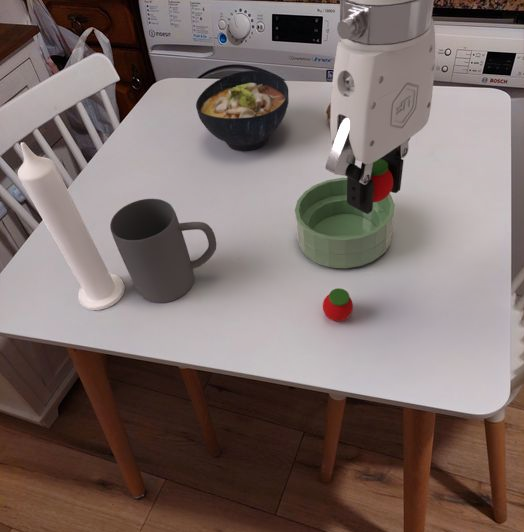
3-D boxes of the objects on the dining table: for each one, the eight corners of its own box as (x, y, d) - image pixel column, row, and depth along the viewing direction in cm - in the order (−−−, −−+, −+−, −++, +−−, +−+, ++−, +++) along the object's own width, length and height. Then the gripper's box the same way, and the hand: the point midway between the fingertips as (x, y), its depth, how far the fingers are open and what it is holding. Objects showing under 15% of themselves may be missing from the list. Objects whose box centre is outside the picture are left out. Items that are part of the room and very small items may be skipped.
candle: (76, 287, 80) (-11, 138, 60) (119, 271, 81) (47, 119, 61) (84, 317, 76) (-7, 168, 56) (129, 299, 77) (56, 147, 57)
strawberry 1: (324, 301, 71) (326, 281, 68) (353, 306, 71) (356, 286, 67) (319, 324, 69) (321, 305, 66) (348, 329, 69) (352, 310, 65)
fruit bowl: (342, 198, 85) (342, 166, 80) (410, 235, 78) (415, 202, 73) (279, 241, 81) (275, 210, 76) (345, 285, 73) (346, 254, 68)
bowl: (191, 160, 98) (177, 109, 90) (225, 113, 107) (216, 63, 99) (274, 169, 93) (268, 116, 85) (303, 119, 102) (300, 66, 94)
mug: (133, 307, 76) (103, 245, 66) (140, 264, 81) (114, 201, 72) (224, 297, 75) (207, 233, 65) (225, 255, 80) (209, 190, 71)
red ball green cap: (371, 183, 59) (373, 150, 56) (399, 196, 57) (403, 163, 54) (347, 200, 58) (348, 167, 54) (375, 214, 55) (377, 181, 52)
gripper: (351, 64, 38) (347, 251, 52) (484, -14, 44) (448, 174, 58) (282, 41, 42) (296, 221, 56) (412, -28, 47) (395, 152, 62)
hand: (373, 196), depth 57 cm, fingers closed on red ball green cap, 3 cm apart
